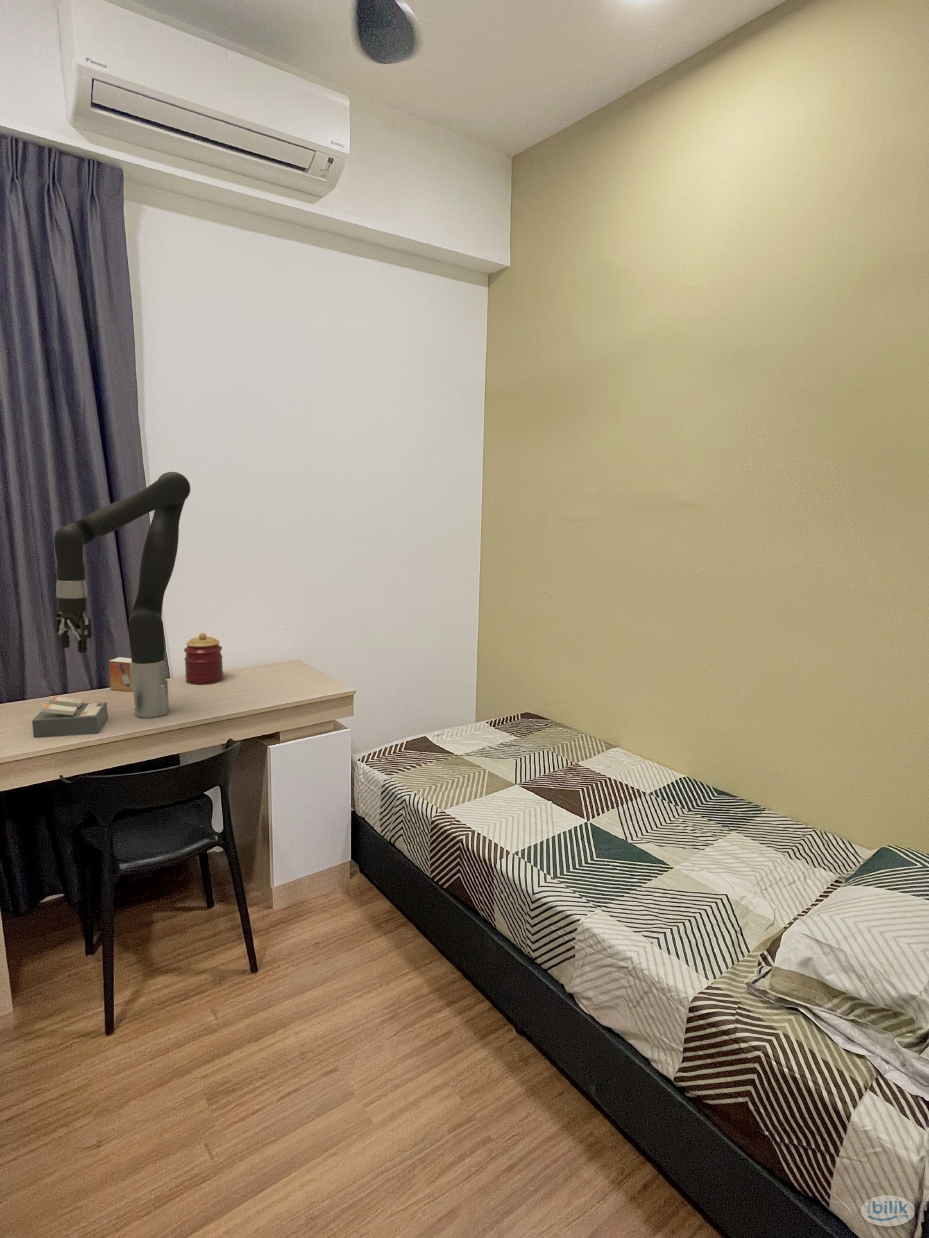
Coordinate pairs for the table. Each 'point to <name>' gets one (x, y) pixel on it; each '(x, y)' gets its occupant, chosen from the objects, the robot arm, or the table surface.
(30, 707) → the table surface
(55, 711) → the rocker
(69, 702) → the rocker
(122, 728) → the table surface
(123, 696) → the table surface
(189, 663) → the canister
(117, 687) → the small box
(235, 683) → the table surface
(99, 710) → the box
